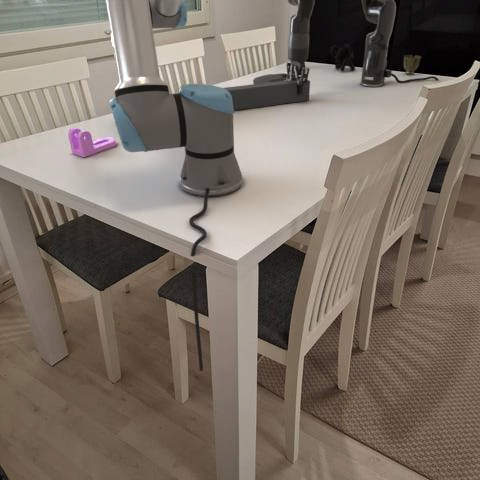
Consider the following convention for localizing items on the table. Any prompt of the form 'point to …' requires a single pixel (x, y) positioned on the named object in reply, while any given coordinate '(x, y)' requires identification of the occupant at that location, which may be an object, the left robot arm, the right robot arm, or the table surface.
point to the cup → (411, 63)
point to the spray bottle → (270, 78)
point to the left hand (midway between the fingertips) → (135, 119)
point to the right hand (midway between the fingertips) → (296, 93)
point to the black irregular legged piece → (343, 57)
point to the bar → (267, 94)
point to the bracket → (88, 143)
